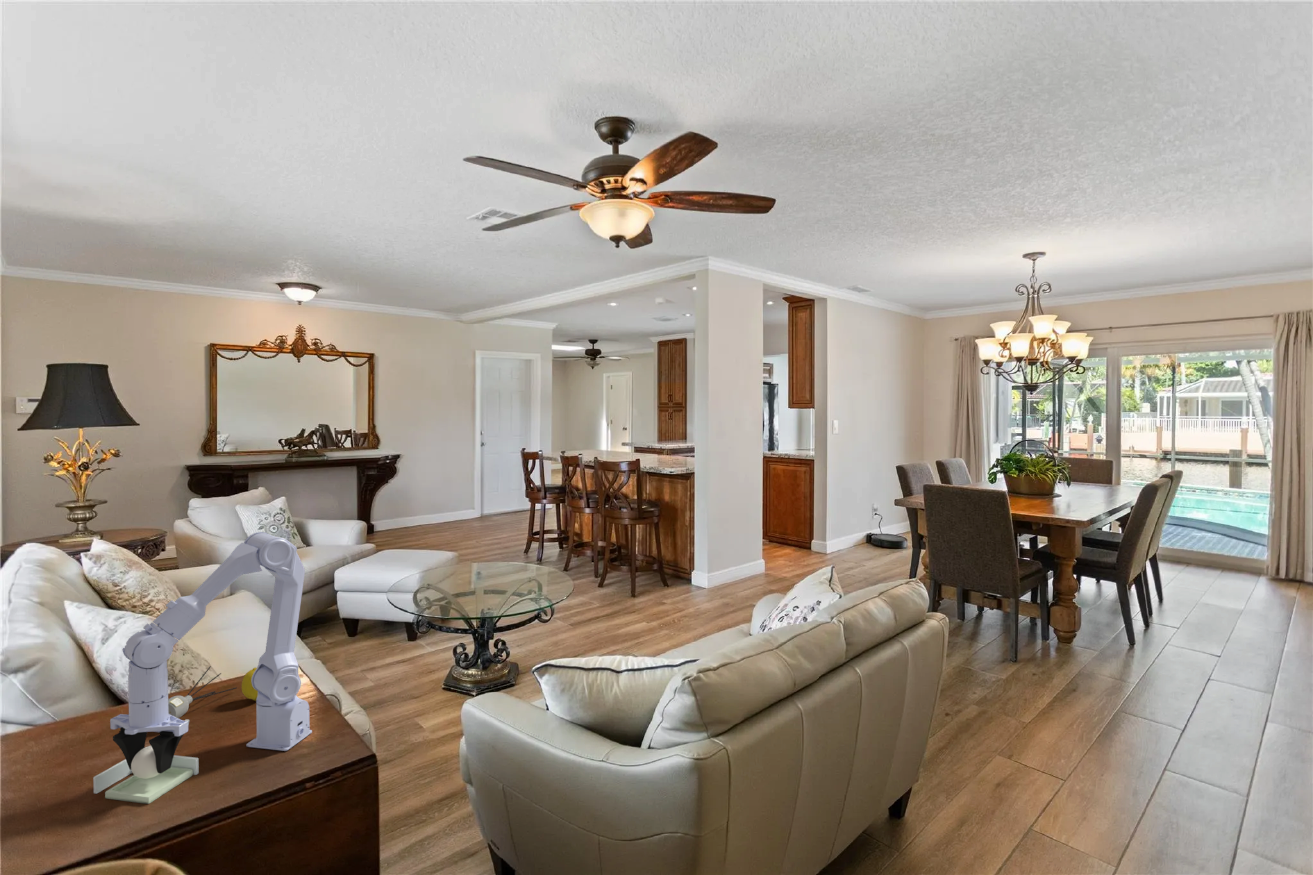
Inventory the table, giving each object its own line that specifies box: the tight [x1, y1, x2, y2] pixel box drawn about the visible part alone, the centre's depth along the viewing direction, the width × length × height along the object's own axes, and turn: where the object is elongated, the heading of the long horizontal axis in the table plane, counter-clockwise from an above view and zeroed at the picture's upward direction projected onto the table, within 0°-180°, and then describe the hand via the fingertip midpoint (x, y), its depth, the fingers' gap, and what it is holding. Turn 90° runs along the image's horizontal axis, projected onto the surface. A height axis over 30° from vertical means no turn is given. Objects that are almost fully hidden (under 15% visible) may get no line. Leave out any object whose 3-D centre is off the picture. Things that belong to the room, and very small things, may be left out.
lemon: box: [241, 667, 258, 702], centre depth 153 cm, size 6×6×8 cm
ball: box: [131, 745, 160, 779], centre depth 118 cm, size 6×6×6 cm
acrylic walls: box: [92, 754, 200, 794], centre depth 120 cm, size 13×9×3 cm
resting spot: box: [104, 767, 194, 805], centre depth 119 cm, size 9×9×1 cm
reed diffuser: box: [168, 666, 238, 726], centre depth 148 cm, size 10×7×20 cm
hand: (150, 768), depth 118 cm, fingers closed on ball, 5 cm apart
